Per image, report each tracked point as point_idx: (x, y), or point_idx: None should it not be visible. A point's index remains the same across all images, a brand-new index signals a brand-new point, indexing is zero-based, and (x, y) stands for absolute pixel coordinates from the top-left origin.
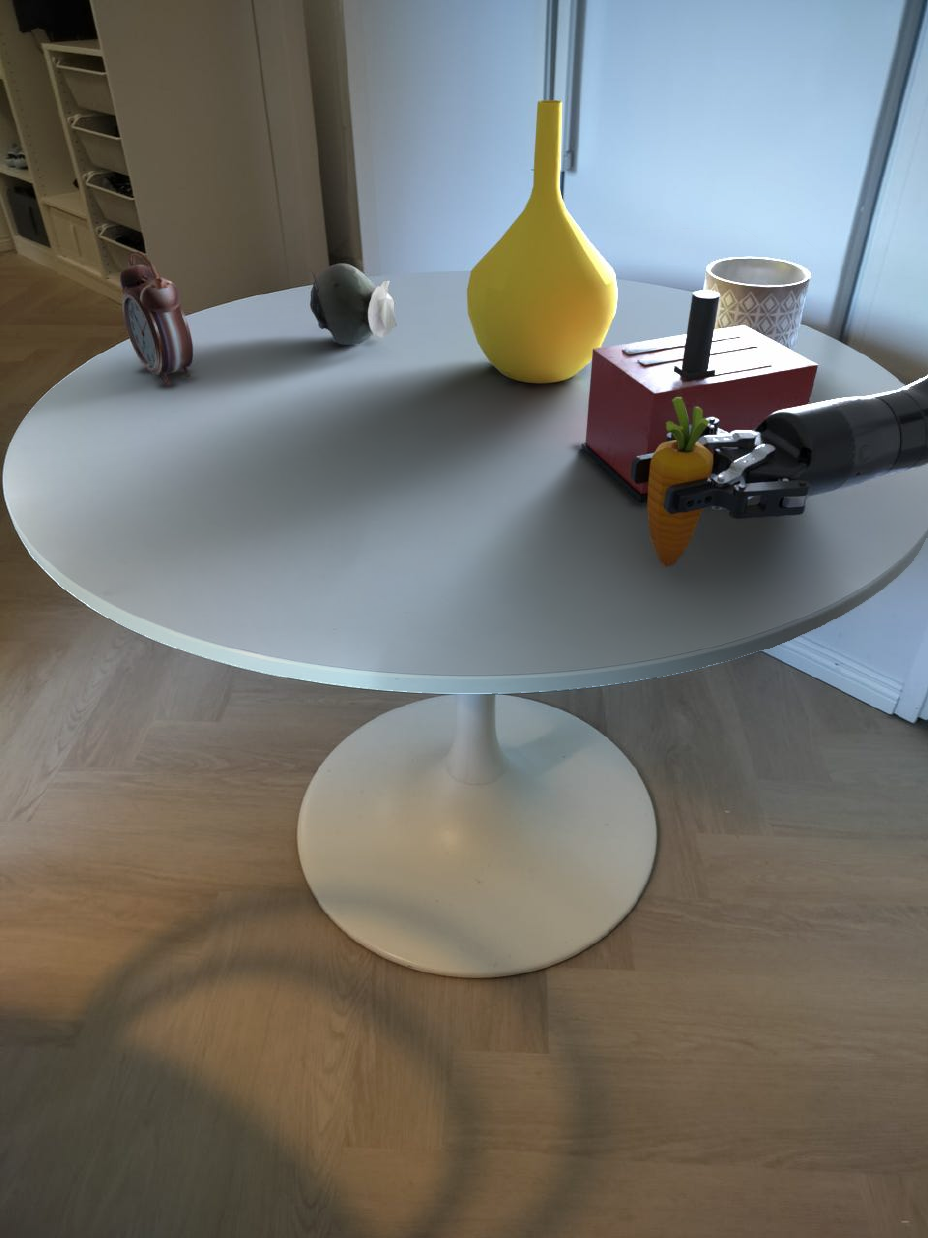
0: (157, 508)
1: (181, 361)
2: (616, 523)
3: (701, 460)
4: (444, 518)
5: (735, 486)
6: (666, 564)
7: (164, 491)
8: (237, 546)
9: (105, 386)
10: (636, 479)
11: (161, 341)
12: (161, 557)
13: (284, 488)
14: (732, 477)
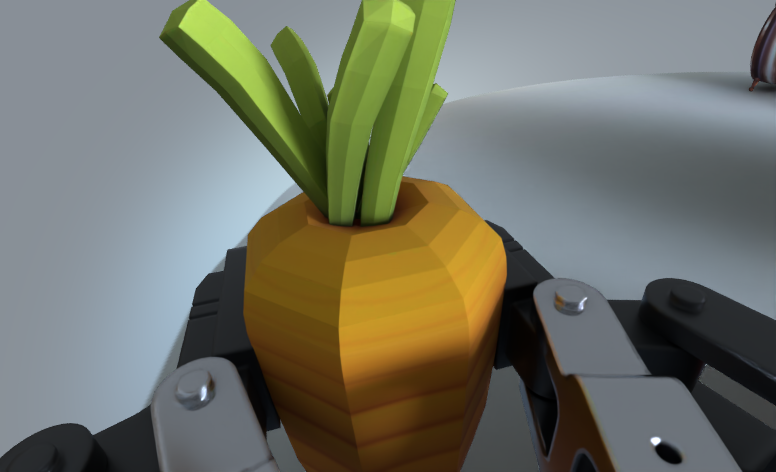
0: (523, 113)
1: (773, 69)
2: None
3: (255, 253)
4: (556, 226)
5: (77, 434)
6: None
7: (550, 111)
8: (472, 138)
9: (717, 79)
10: None
11: (760, 40)
12: (454, 121)
13: (581, 144)
14: (176, 454)
